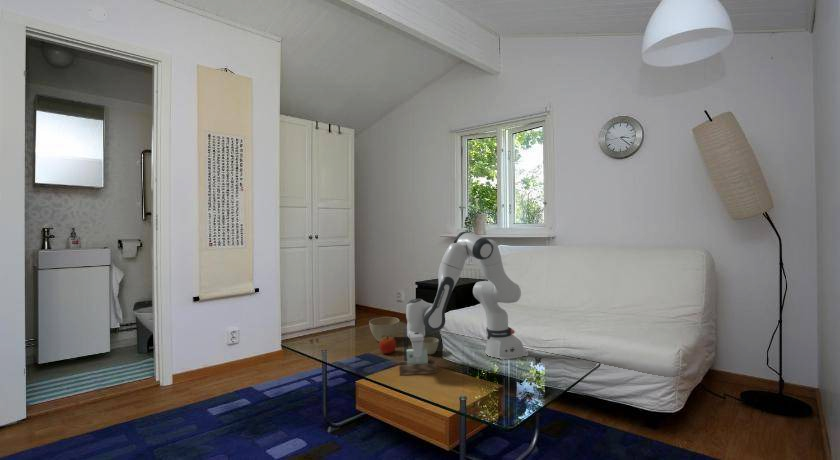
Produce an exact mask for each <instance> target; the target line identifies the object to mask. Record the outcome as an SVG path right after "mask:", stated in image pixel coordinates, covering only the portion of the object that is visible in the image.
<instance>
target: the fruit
mask: <svg viewBox="0 0 840 460" xmlns="http://www.w3.org/2000/svg"><path fill="white" fill-rule="evenodd" d="M382 337H385V335H383V336H382ZM382 337H381V338H382ZM378 343H379V344H378V347H379V351H380V352H381V353H383V354H384V355H386V354H387V355H389V354H392V353H394V352H395V350H396V348H397V341H396V339H395V337H394V338H392V337H388V336H386V338H382V339H381V340H380V342H379V341H378Z"/></svg>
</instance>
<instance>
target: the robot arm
mask: <svg viewBox="0 0 840 460" xmlns="http://www.w3.org/2000/svg"><path fill="white" fill-rule="evenodd" d="M501 255H502V254H501V252H500V249H499V246H498V243H497V242H496V241H495V240H493V239H490V238H489V239H487V237H486V238H485V237H483V236H482V235H479V234H475V233H472V232H469V231H461V232H459V233H458V234H457V236H456V237H455V239H454V240H453V243H451V244H449V246H448V247H447V249H446V250H445V253H444V254H443V256H442V259H441V261H440V264H439V268H438V272H437V278H438V281H437V282H438V286H437V292H436V296H435V298H434V301H433V303H430V302H427V301H425V300H423V299H422V298H414V299H411V300H409V301H408V302H407V304H406V306H405V307H406V309H405V311H406V312H405V317H406V322H407V325H406V335H407V337H408V338H409V340H410V342H411V346H412V347H411V348H412V349H413V353H414V357H416V362H419V361H420V357H422V348H423V340H424V338H425V336H426V329H427V330H428V331H430V332H434V333H435V332H439V331H441V330H442V329H443V328H444V327H445V326H446V325H445V324H446V310H447V306H448V303H449V301H450V298H451V296H452V292H453V291H454V288H455V287H456V284H457V282H458V281H459V279H460V277H461V274H462V273H463V269H464V267H465V264H466V260H467V259H468V258H469V257H472V258H474V259H477V260H478V261H479V264H480V271H481V274H482V276H483V277H484V279H486V280H482V281H481V280H480V281H477V282H475V284H474V286H473V288H472V295H473V297H474V298H475V299H476V300H477V301H478V302H479V303H480V304H481V305H482V307H483V309H484V312H485V316H486V333H485V337H486V346H485V351H484V354H485V353H486V354H487V355H488V356H487V355H486V354H485V355H486V356H487V357H489V356H491V357H490V358H492V357H498V358H500V359H506V360H512V359H519V358H523V357H522V356H526V357H528V356H529V351H528V350H527V349H526V348H525V347H524V344H523V342H522V341H521V339H520V338H518V337H517V336H516V335H514V334H515V330H514V329H513V328H511V327H510V326H509V315H508V312H507V311H506V310H505V309H504V308H502V307H501V306H500V305H499V304H498V303H501V304H512V303H517V302H518V301H519V300H520V298H521V295H522V291H521V288H520V286H519V285H518V284H517V283H516V282H514V281H513V280H511V278H510V277H509V275H507V274H506V272H505V269H504V265H503V261H502V260H503V259H502V256H501ZM518 357H519V358H518ZM500 359H499V360H500Z"/></svg>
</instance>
